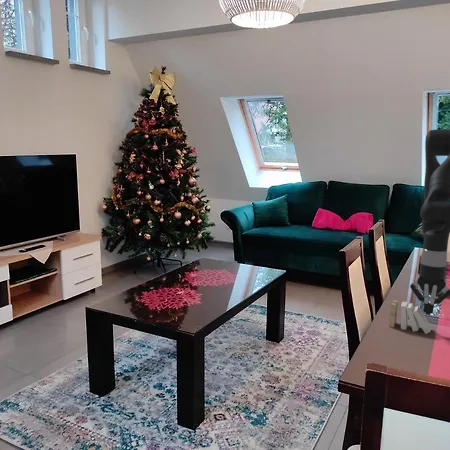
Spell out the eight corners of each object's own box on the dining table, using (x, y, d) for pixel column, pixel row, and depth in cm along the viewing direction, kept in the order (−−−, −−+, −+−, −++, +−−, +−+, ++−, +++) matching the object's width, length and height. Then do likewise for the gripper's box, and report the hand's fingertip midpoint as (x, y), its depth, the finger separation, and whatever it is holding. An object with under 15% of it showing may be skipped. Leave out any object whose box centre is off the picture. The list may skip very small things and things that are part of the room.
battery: (417, 274, 219) (419, 254, 218) (420, 271, 225) (422, 251, 223) (427, 275, 217) (429, 255, 215) (429, 272, 223) (432, 252, 221)
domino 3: (414, 326, 154) (407, 303, 154) (419, 325, 153) (412, 303, 153) (413, 331, 149) (406, 308, 149) (418, 330, 149) (410, 307, 149)
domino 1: (391, 322, 157) (393, 300, 156) (396, 322, 156) (398, 300, 155) (388, 326, 153) (390, 304, 152) (393, 327, 152) (395, 305, 151)
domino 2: (402, 324, 155) (402, 301, 154) (407, 324, 155) (407, 302, 154) (400, 329, 151) (400, 306, 150) (405, 329, 150) (405, 306, 149)
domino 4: (426, 328, 152) (414, 307, 153) (431, 326, 151) (418, 305, 152) (425, 333, 148) (412, 312, 149) (430, 332, 147) (417, 310, 148)
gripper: (456, 263, 146) (450, 314, 149) (412, 257, 152) (407, 307, 155) (456, 268, 139) (449, 321, 142) (410, 262, 146) (405, 313, 148)
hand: (428, 314), depth 149 cm, fingers closed
